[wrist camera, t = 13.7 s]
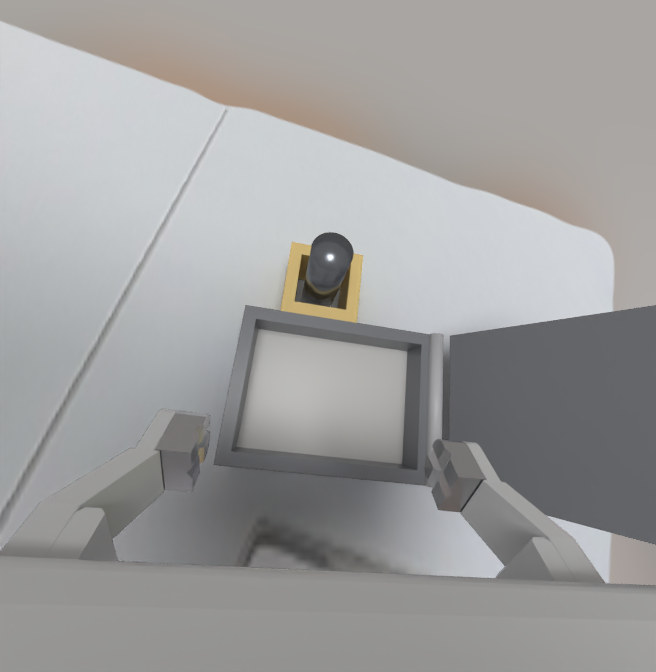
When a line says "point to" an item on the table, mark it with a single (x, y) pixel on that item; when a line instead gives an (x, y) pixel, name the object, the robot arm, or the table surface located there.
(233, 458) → the case
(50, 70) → the table surface
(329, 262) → the rod
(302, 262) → the frame
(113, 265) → the table surface
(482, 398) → the case lid
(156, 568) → the robot arm
